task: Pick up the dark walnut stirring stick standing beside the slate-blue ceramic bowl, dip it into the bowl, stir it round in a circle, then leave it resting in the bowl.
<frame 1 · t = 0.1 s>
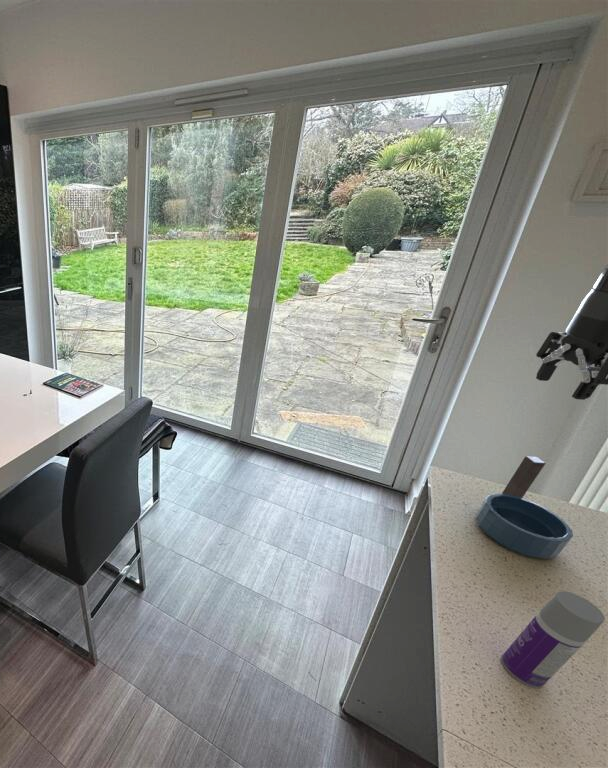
hand: (559, 388, 86), 26 cm above the countertop, tool pointing down, fingers open, 8 cm apart
container: (520, 671, 60), on the countertop
stirring stick: (505, 506, 91), on the countertop
bowl: (513, 535, 83), on the countertop
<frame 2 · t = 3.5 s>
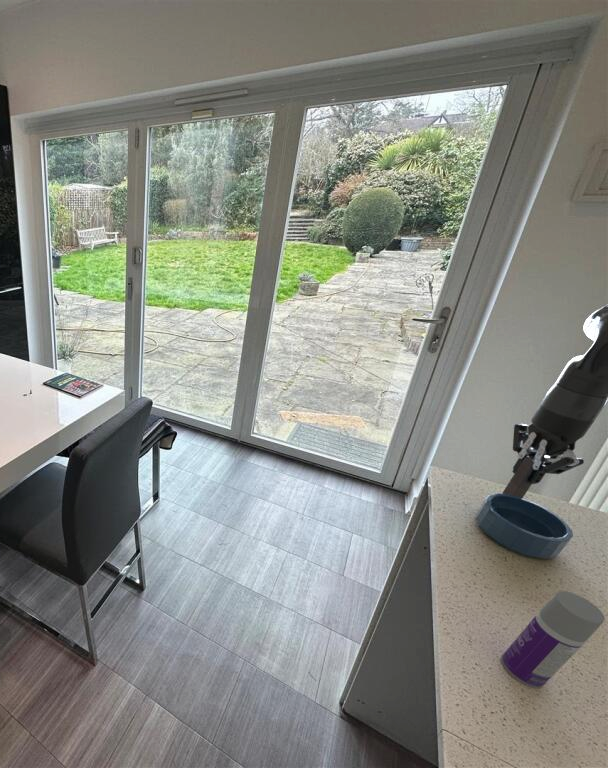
hand: (523, 477, 87), 8 cm above the countertop, tool pointing down, fingers closed on stirring stick, 2 cm apart
stirring stick: (505, 506, 91), on the countertop, touching gripper
everything else where it was.
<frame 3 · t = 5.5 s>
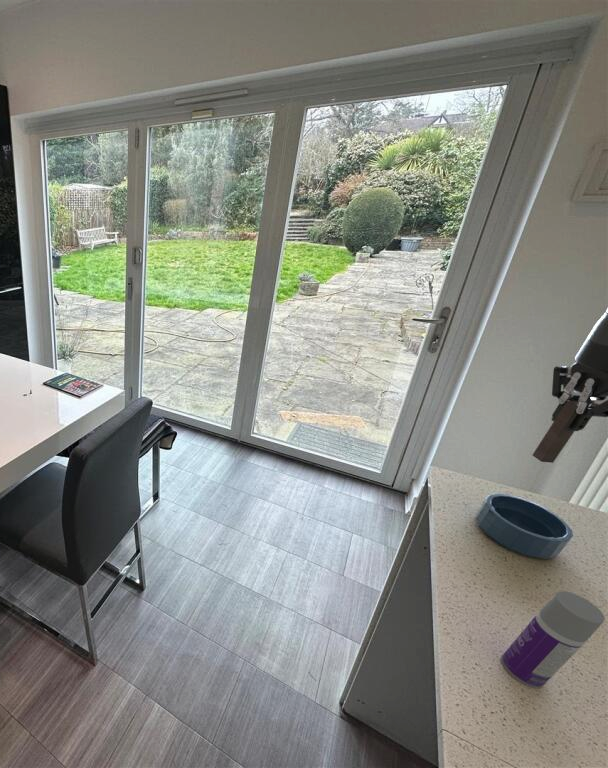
hand: (564, 425, 79), 23 cm above the countertop, tool pointing down, fingers closed on stirring stick
stirring stick: (542, 458, 82), point 15 cm above the countertop, touching gripper
everything else where it was.
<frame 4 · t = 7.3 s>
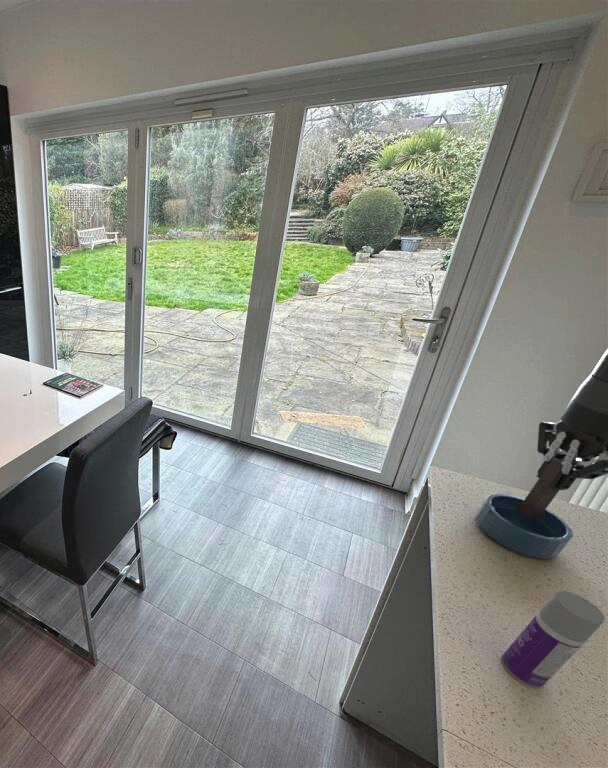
hand: (549, 483, 77), 14 cm above the countertop, tool pointing down, fingers closed on stirring stick
stirring stick: (527, 514, 81), point 6 cm above the countertop, touching gripper
everything else where it was.
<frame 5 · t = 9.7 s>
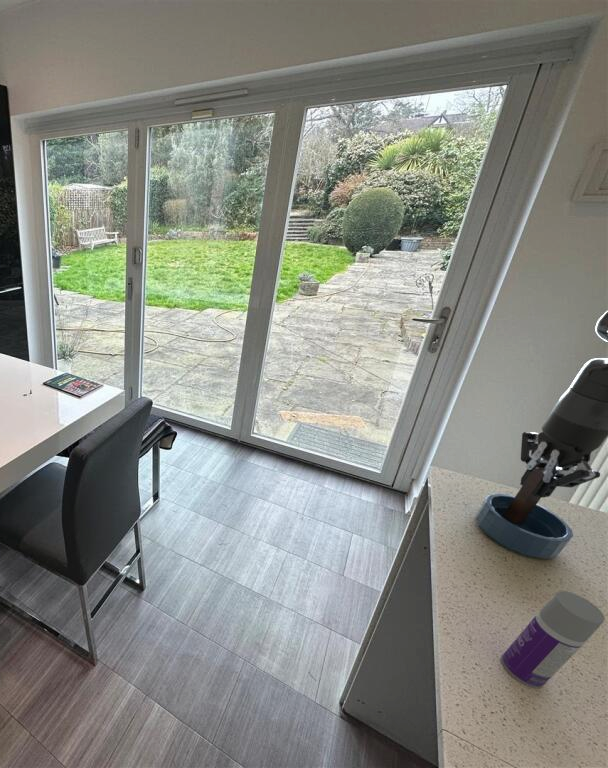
hand: (532, 490, 80), 10 cm above the countertop, tool pointing down, fingers closed on stirring stick, 2 cm apart
stirring stick: (511, 520, 84), point 2 cm above the countertop, touching gripper
everything else where it was.
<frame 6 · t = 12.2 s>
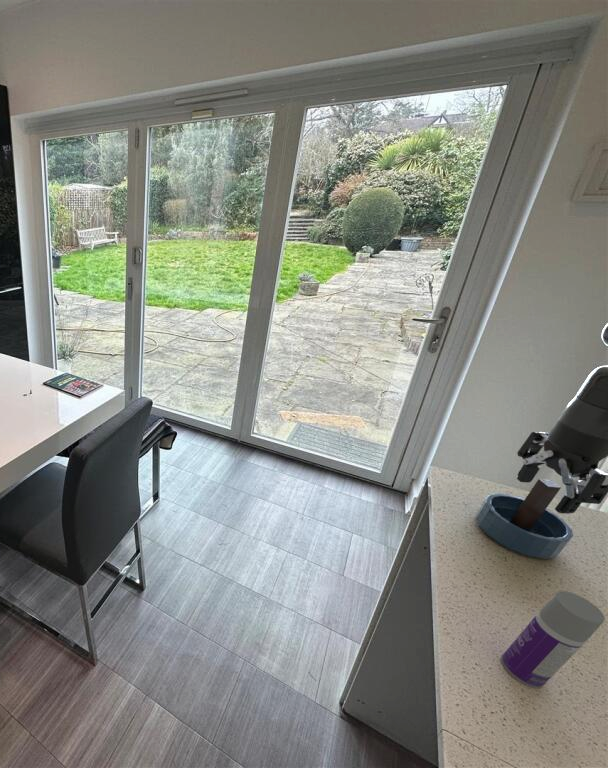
hand: (541, 495, 78), 11 cm above the countertop, tool pointing down, fingers open, 8 cm apart
stirring stick: (515, 532, 83), point 1 cm above the countertop, touching bowl
everything else where it was.
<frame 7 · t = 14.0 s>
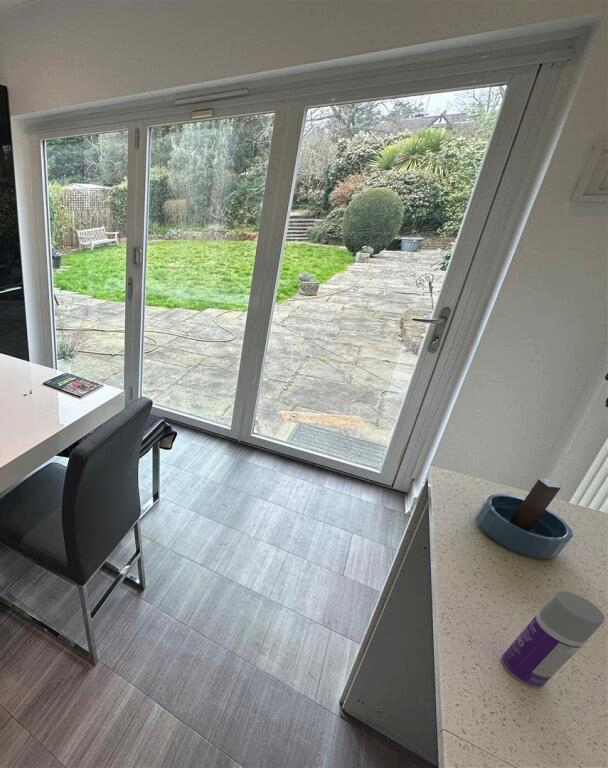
nothing on the countertop moved.
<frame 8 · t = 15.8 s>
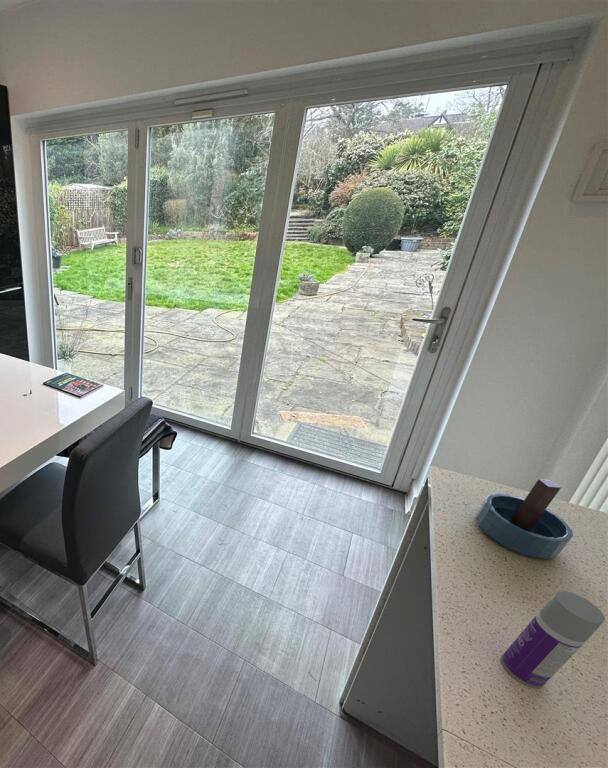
nothing on the countertop moved.
at the end: stirring stick inside the target area in the bowl (0.1 cm from its centre), point 0.8 cm above the bowl's base; stirring stick moved 10.4 cm from its start; the gripper is holding nothing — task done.
